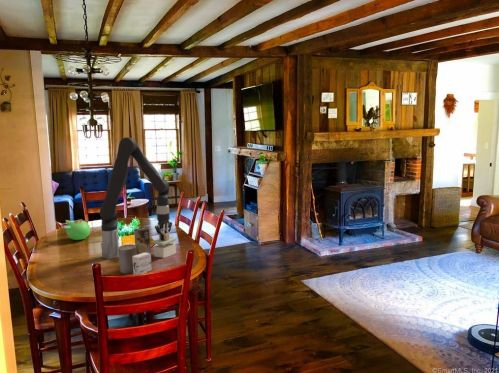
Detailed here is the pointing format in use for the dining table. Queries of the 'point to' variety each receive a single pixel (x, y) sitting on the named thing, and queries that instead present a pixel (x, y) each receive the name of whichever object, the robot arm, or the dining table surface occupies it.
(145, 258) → the ink box
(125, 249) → the pillar candle
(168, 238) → the lid
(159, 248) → the cream box
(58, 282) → the dining table surface
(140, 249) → the coffee box
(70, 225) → the green round pot
